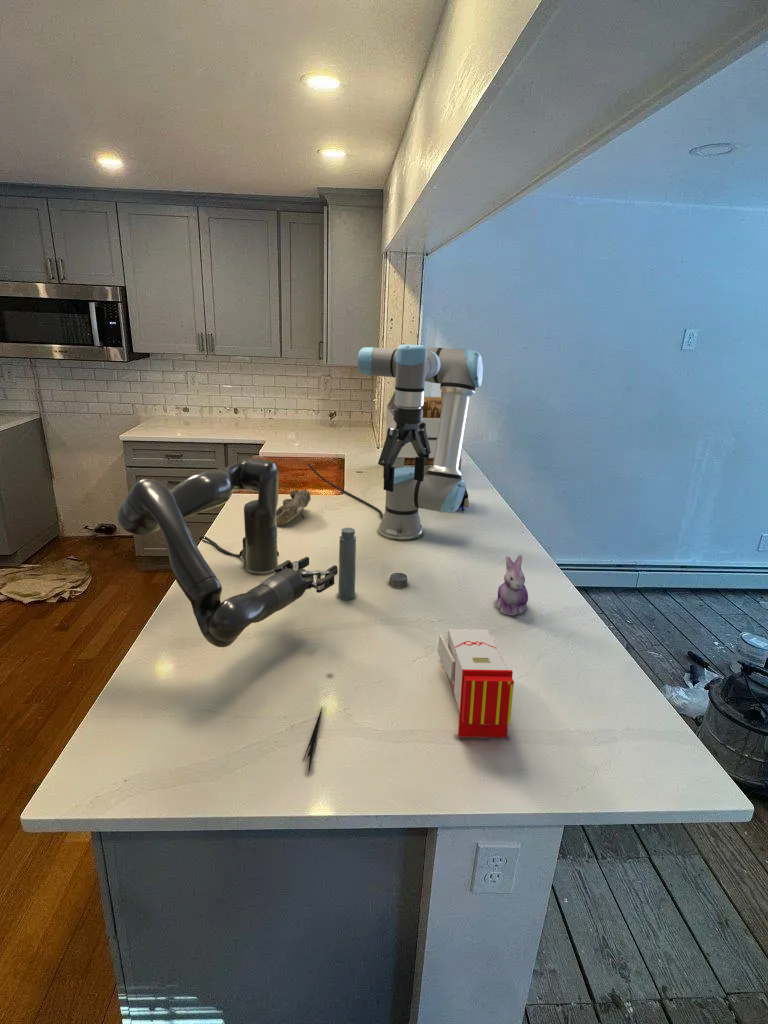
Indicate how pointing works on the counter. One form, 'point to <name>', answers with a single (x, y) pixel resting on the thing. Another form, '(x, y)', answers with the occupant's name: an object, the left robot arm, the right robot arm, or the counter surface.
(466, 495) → the figurine character
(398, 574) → the lid
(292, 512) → the fossil
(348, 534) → the bottle
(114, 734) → the counter surface
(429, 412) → the white wooden crate
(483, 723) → the toy
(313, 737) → the feather
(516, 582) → the figurine
